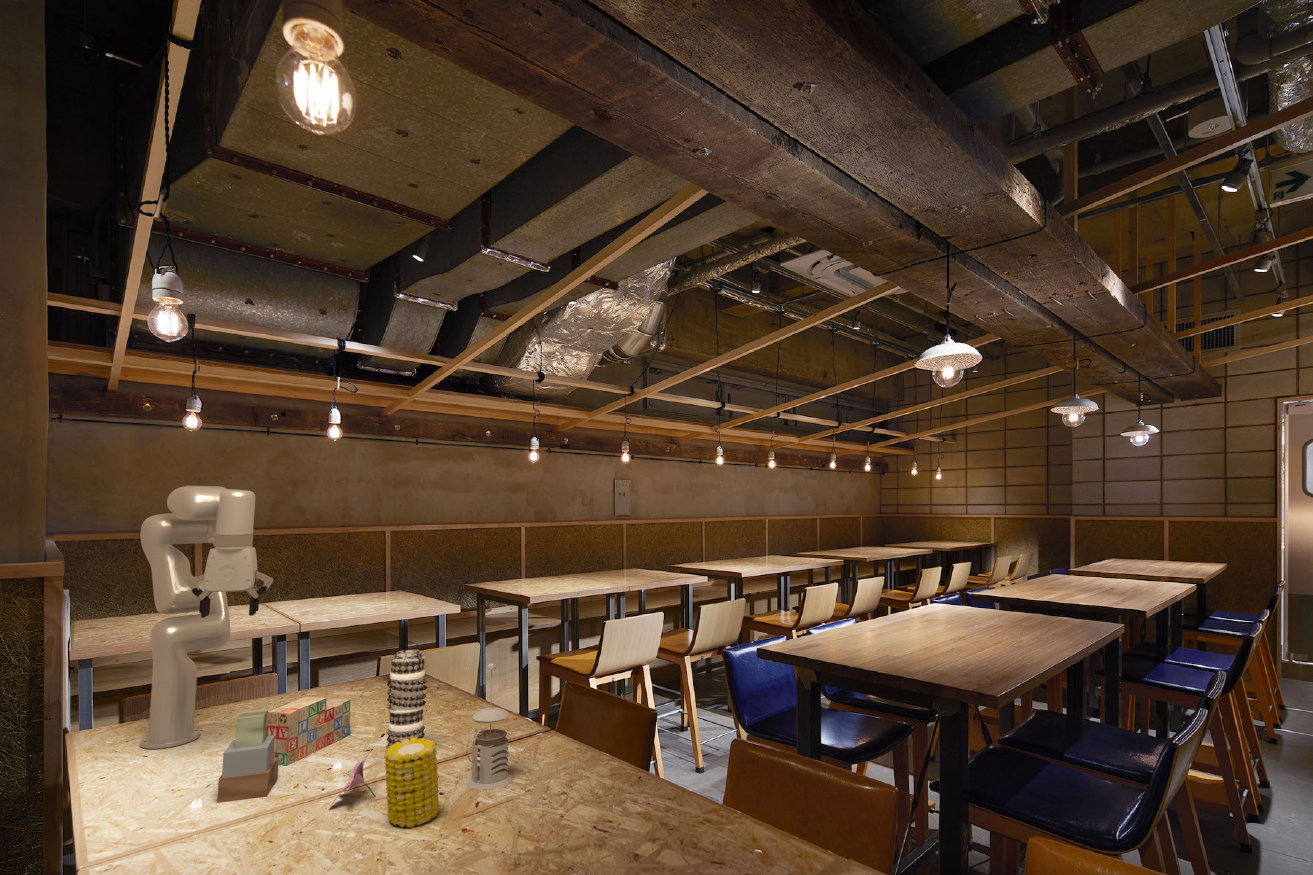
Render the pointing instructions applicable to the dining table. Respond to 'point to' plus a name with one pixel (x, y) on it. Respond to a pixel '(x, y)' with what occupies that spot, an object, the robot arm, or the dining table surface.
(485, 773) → the french press
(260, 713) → the sage block
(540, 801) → the dining table surface
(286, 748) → the stack of blocks
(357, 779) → the lily
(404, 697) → the decorative candle
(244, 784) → the tower base
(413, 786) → the food
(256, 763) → the tower top
